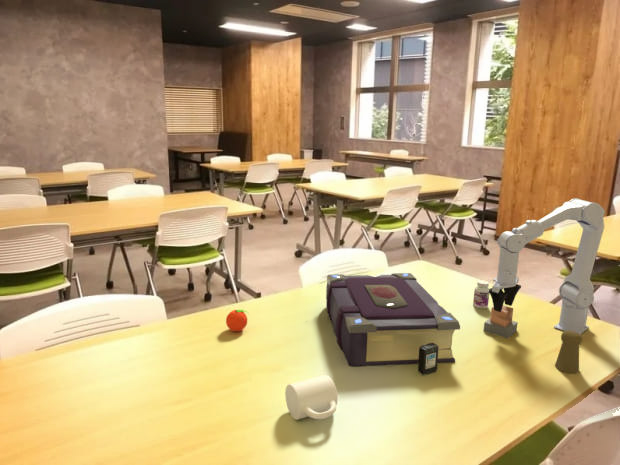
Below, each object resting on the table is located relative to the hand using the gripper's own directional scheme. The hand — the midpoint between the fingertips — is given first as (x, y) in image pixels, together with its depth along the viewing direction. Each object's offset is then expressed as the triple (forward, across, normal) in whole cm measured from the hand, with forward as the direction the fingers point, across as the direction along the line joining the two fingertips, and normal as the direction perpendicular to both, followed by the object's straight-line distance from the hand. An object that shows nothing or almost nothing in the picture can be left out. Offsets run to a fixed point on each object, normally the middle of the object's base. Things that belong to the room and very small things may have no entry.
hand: (502, 307), depth 152 cm
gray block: (+9, 0, 0) cm, 9 cm away
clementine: (+8, +66, -57) cm, 88 cm away
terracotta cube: (+5, 0, 0) cm, 5 cm away
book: (+9, +30, -26) cm, 41 cm away
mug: (+8, +78, -7) cm, 79 cm away
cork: (+8, +9, +24) cm, 27 cm away
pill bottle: (+8, -15, -15) cm, 23 cm away
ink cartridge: (+8, +41, -1) cm, 42 cm away
